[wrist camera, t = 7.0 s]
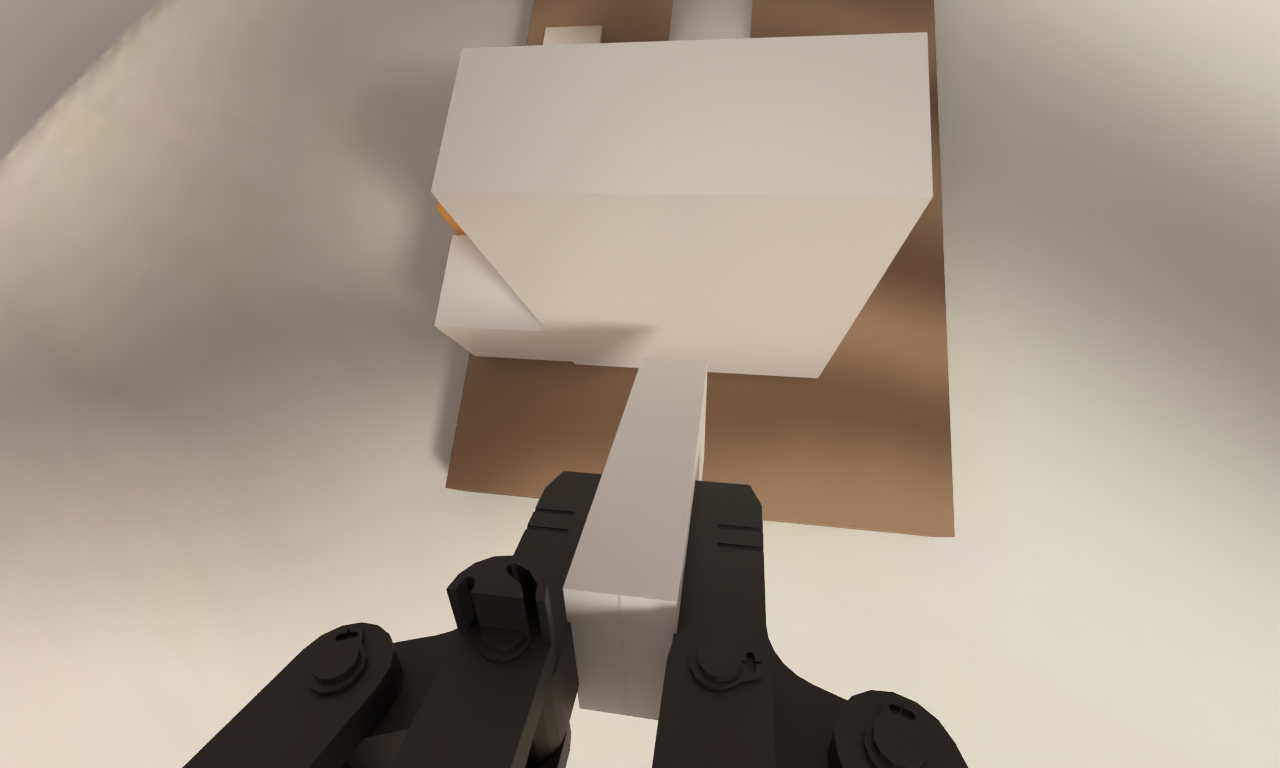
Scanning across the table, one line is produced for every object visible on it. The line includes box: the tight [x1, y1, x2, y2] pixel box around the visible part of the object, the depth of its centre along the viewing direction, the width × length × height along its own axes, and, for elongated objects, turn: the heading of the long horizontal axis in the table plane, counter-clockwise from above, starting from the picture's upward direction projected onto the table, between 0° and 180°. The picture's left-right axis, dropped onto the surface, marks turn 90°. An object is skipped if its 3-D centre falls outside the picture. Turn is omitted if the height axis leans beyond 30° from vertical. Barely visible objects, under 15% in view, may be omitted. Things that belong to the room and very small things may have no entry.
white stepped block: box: [431, 0, 933, 378], centre depth 15 cm, size 12×12×10 cm
